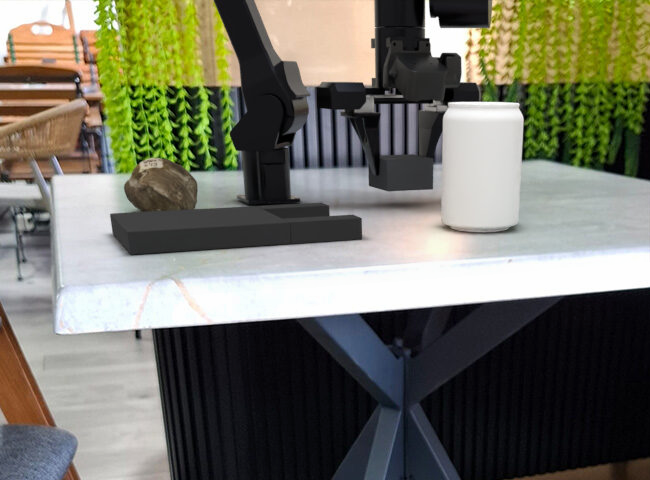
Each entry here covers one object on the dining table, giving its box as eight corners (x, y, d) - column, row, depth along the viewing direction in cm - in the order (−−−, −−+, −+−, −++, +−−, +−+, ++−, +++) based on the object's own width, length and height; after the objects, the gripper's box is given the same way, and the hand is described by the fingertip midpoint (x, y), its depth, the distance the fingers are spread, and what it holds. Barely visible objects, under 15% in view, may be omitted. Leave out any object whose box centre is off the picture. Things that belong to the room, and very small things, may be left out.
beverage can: (460, 235, 90) (463, 104, 84) (429, 223, 96) (430, 101, 91) (531, 231, 92) (539, 104, 87) (496, 219, 99) (501, 101, 94)
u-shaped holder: (112, 234, 89) (109, 213, 88) (322, 221, 97) (321, 202, 96) (130, 255, 79) (127, 231, 78) (362, 239, 87) (362, 217, 87)
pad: (368, 186, 110) (368, 155, 108) (413, 184, 112) (413, 154, 111) (387, 191, 105) (386, 159, 103) (433, 189, 107) (433, 158, 106)
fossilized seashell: (123, 186, 104) (111, 213, 96) (147, 135, 102) (136, 158, 93) (184, 219, 107) (177, 248, 99) (208, 170, 105) (203, 196, 97)
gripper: (346, 23, 91) (351, 184, 98) (506, 27, 98) (500, 178, 105) (312, 27, 100) (318, 174, 107) (461, 31, 107) (457, 169, 114)
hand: (400, 174), depth 108 cm, fingers closed on pad, 6 cm apart
